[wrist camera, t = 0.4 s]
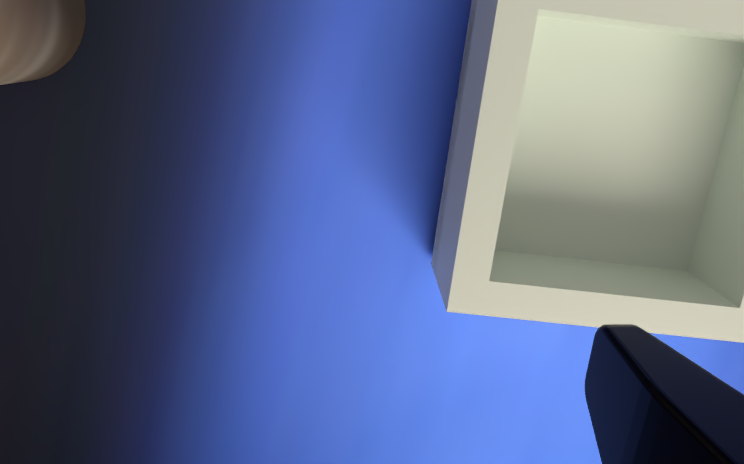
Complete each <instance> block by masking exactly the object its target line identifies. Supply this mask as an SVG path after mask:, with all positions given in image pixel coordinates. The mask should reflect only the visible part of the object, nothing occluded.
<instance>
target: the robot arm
mask: <svg viewBox="0 0 744 464" xmlns="http://www.w3.org/2000/svg"><path fill="white" fill-rule="evenodd" d="M585 395H586V401H587V405H588V409H589V413H590V417H591V421H592V425H593V429H594V433H595V437H596V441H597V445H598V449H599V453H600V457H601V461H602V464H744V395H743V394H742V393H740V392H739V391H737V390H736V389H734V388H732V387H731V386H729V385H728V384H726V383H725V382H723V381H722V380H720V379H719V378H717V377H716V376H714V375H712V374H711V373H709V372H708V371H706V370H705V369H703V368H702V367H700V366H699V365H697V364H696V363H694V362H693V361H691V360H689V359H688V358H686V357H685V356H683V355H682V354H680V353H679V352H677V351H676V350H674V349H673V348H671V347H669V346H668V345H666V344H665V343H663V342H662V341H660V340H659V339H657V338H656V337H654V336H653V335H651V334H649V333H648V332H646V331H645V330H643V329H642V328H640V327H638V326H637V325H633V324H605V325H602V326H601V327H599V328H598V330H597V331H596V333H595V337H594V341H593V346H592V350H591V355H590V359H589V364H588V369H587V373H586V378H585Z"/></svg>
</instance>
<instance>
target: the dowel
mask: <svg viewBox="0 0 744 464" xmlns="http://www.w3.org/2000/svg"><path fill="white" fill-rule="evenodd" d="M85 23H86V6H85V0H0V85H3V84H10V83H18V82H25V81H32V80H37V79H41V78H44V77H46V76H49V75H51V74H53V73H54V72H56V71H58V70H59V69H60V68H62V67H63V66H64V65H65V64H66V63H67V62H68V61H69V60H70V59H71V58H72V56H73V55H74V54H75V52H76V51H77V49H78V47H79V45H80V43H81V40H82V37H83V34H84V29H85Z"/></svg>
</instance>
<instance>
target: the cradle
mask: <svg viewBox="0 0 744 464" xmlns="http://www.w3.org/2000/svg"><path fill="white" fill-rule="evenodd" d="M431 265H432V268H433V271H434V274H435V277H436V280H437V283H438V286H439V289H440V292H441V295H442V298H443V301H444V305H445V308H446V311H447V312H455V313H465V314H475V315H484V316H494V317H503V318H513V319H523V320H532V321H542V322H551V323H561V324H570V325H580V326H590V327H601V326H602V325H605V324H633V325H637V326H638V327H640V328H642V329H643V330H645V331H646V332H648V333H657V334H666V335H676V336H685V337H695V338H705V339H714V340H724V341H733V342H743V343H744V0H472V2H471V8H470V15H469V21H468V28H467V34H466V41H465V47H464V54H463V60H462V67H461V73H460V80H459V86H458V93H457V99H456V105H455V112H454V118H453V125H452V131H451V138H450V144H449V151H448V157H447V164H446V170H445V177H444V183H443V190H442V196H441V203H440V209H439V216H438V222H437V229H436V235H435V242H434V248H433V255H432V261H431Z"/></svg>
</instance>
